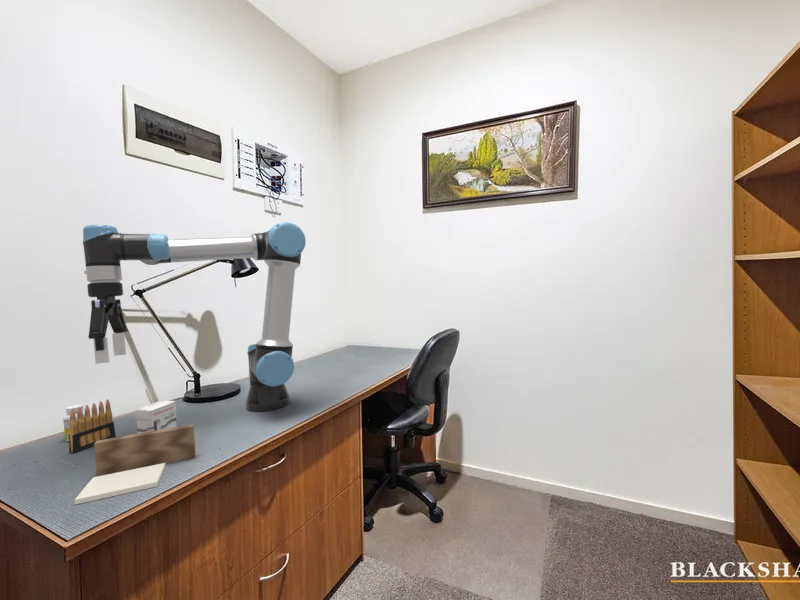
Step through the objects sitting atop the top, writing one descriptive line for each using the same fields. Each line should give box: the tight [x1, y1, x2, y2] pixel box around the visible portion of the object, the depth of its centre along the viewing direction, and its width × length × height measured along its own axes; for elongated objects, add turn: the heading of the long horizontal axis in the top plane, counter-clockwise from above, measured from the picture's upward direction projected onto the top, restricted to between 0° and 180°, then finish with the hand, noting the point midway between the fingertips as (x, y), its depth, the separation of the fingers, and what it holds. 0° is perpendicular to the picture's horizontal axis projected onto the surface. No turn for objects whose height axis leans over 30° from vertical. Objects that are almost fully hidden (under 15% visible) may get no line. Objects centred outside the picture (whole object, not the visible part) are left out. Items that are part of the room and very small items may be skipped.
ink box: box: [135, 399, 178, 434], centre depth 100 cm, size 9×5×12 cm, turn 168°
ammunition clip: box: [68, 398, 117, 455], centre depth 104 cm, size 11×2×12 cm, turn 159°
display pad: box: [74, 463, 166, 506], centre depth 81 cm, size 14×10×1 cm
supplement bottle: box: [63, 404, 85, 442], centre depth 111 cm, size 5×5×10 cm
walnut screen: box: [93, 424, 197, 477], centre depth 89 cm, size 20×2×8 cm, turn 114°
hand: (112, 358), depth 101 cm, fingers open, 13 cm apart
